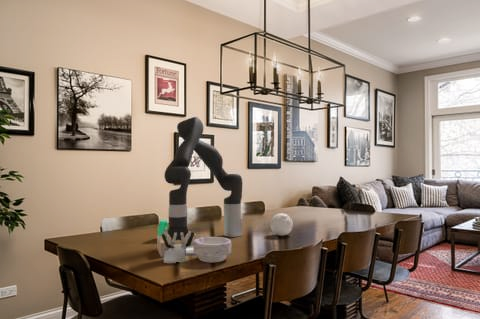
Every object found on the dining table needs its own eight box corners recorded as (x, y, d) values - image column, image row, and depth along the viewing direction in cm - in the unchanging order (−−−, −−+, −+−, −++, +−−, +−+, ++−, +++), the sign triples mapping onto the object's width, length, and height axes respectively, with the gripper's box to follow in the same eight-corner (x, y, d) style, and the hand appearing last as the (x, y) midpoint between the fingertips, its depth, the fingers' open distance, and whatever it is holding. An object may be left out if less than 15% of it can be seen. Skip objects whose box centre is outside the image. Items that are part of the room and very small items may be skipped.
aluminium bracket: (161, 257, 153) (161, 245, 153) (181, 256, 156) (181, 244, 156) (164, 263, 144) (164, 250, 144) (185, 261, 146) (185, 249, 146)
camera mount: (177, 241, 186) (177, 221, 187) (162, 243, 183) (162, 222, 183) (171, 237, 197) (171, 218, 197) (157, 238, 194) (157, 219, 194)
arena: (196, 246, 175) (196, 233, 175) (203, 253, 160) (203, 240, 160) (157, 248, 169) (157, 236, 169) (160, 257, 154) (160, 243, 154)
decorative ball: (277, 238, 192) (277, 215, 193) (266, 234, 203) (266, 212, 204) (297, 236, 197) (296, 214, 198) (285, 232, 208) (285, 211, 208)
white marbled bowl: (232, 264, 142) (232, 243, 143) (192, 265, 141) (192, 244, 141) (230, 254, 158) (230, 236, 158) (194, 255, 156) (194, 236, 156)
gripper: (193, 213, 158) (193, 253, 158) (159, 214, 154) (159, 256, 154) (196, 215, 151) (196, 258, 151) (161, 217, 147) (161, 261, 146)
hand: (177, 257), depth 152 cm, fingers closed on aluminium bracket, 3 cm apart
